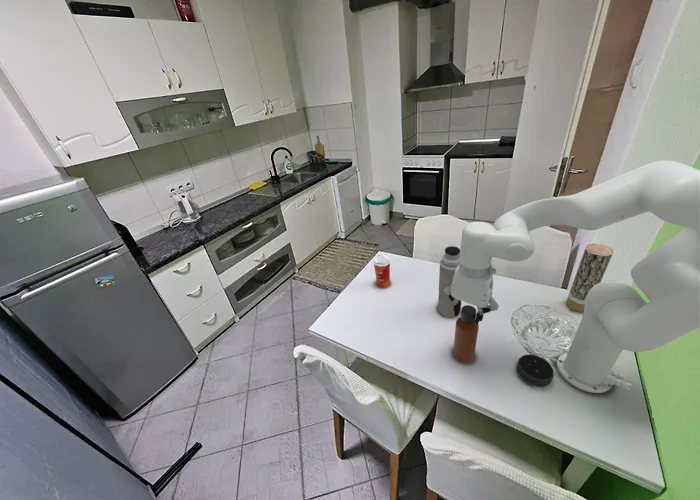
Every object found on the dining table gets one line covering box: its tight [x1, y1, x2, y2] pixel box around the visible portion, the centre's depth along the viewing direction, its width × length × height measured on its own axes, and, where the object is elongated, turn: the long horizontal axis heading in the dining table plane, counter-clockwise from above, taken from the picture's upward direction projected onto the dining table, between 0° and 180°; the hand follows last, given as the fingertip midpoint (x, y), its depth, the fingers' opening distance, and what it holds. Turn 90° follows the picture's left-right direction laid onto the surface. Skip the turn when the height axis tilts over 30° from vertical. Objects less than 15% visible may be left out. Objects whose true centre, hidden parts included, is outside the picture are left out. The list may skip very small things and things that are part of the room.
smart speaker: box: [516, 354, 555, 388], centre depth 81 cm, size 9×9×4 cm
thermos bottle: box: [437, 245, 461, 318], centre depth 101 cm, size 8×8×28 cm
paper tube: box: [565, 243, 614, 313], centre depth 95 cm, size 7×7×25 cm
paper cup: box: [372, 254, 391, 289], centre depth 124 cm, size 8×8×14 cm
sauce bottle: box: [452, 316, 480, 364], centre depth 86 cm, size 6×6×20 cm
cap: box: [460, 304, 477, 323], centre depth 81 cm, size 4×4×3 cm
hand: (467, 316), depth 82 cm, fingers open, 5 cm apart
